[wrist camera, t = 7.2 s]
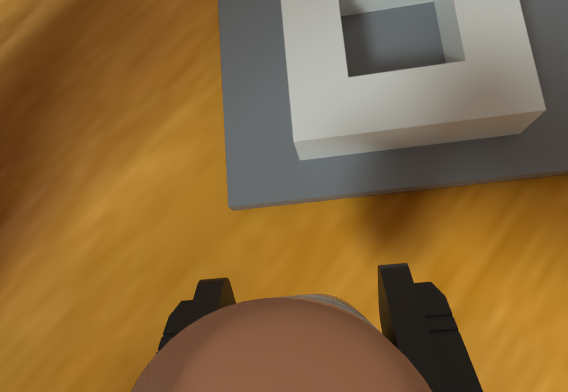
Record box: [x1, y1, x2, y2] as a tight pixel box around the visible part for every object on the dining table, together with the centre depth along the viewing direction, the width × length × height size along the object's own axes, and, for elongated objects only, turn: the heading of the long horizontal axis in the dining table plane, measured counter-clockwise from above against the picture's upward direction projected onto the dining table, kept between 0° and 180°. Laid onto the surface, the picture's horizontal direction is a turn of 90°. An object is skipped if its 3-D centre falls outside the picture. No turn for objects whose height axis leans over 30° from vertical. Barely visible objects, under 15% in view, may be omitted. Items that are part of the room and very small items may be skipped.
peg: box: [131, 294, 432, 392], centre depth 10 cm, size 4×4×11 cm
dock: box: [218, 0, 568, 210], centre depth 23 cm, size 20×16×4 cm
